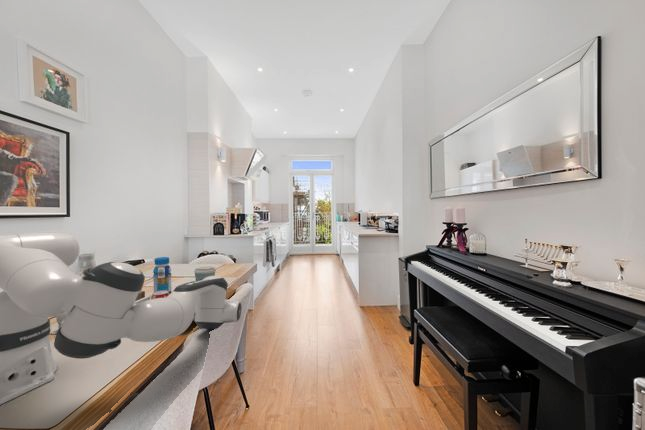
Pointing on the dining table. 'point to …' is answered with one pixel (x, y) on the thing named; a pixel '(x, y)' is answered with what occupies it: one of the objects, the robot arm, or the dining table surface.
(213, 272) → the disposable coffee cup
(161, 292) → the soda can
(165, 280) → the beverage bottle
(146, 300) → the plate
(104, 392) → the dining table surface
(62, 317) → the chubby cartoon animal
